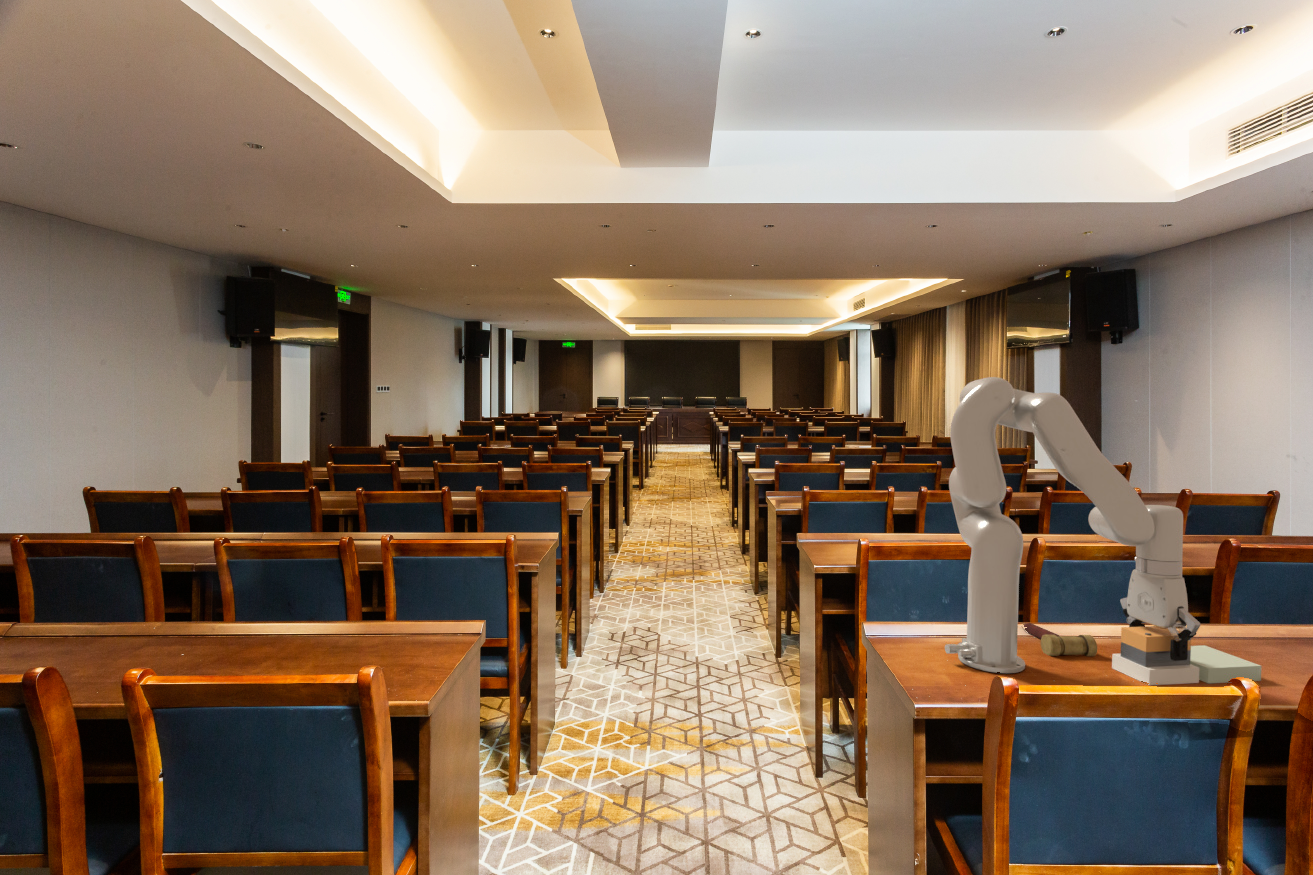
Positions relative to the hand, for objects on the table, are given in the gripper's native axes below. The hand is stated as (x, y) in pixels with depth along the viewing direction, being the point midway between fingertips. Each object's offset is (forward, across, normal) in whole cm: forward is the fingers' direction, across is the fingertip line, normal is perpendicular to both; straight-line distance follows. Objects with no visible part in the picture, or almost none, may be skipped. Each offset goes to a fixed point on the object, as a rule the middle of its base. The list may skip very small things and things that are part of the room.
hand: (1157, 651), depth 137 cm
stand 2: (+5, -1, +13) cm, 14 cm away
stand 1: (+5, 0, 0) cm, 5 cm away
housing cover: (-1, 0, 0) cm, 1 cm away
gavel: (+5, -22, -8) cm, 23 cm away
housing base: (+2, 0, 0) cm, 2 cm away
